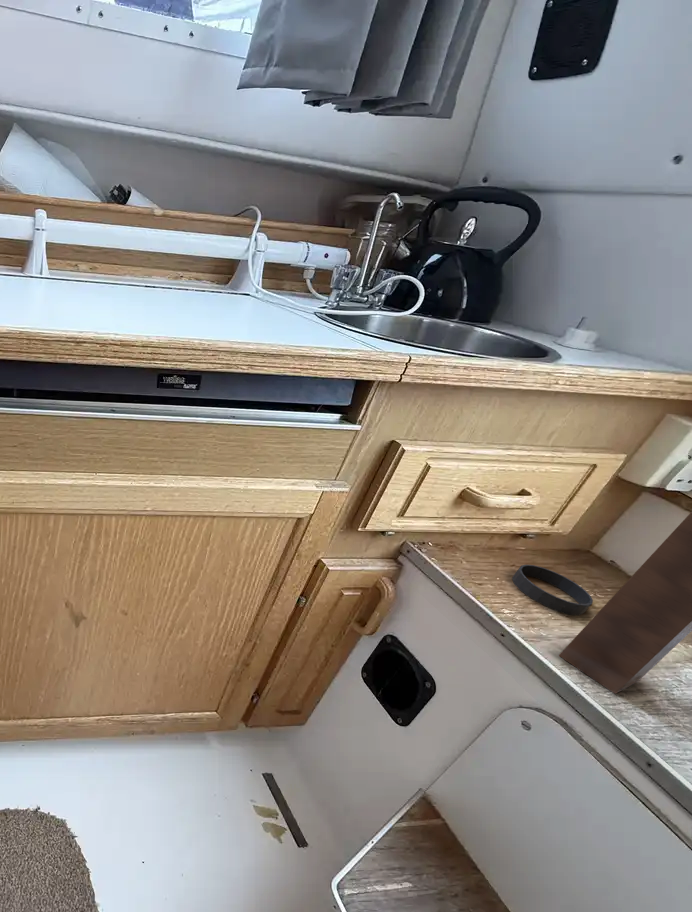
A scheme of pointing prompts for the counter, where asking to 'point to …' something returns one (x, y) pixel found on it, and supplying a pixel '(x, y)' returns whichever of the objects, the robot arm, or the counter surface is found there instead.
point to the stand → (640, 617)
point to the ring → (548, 598)
